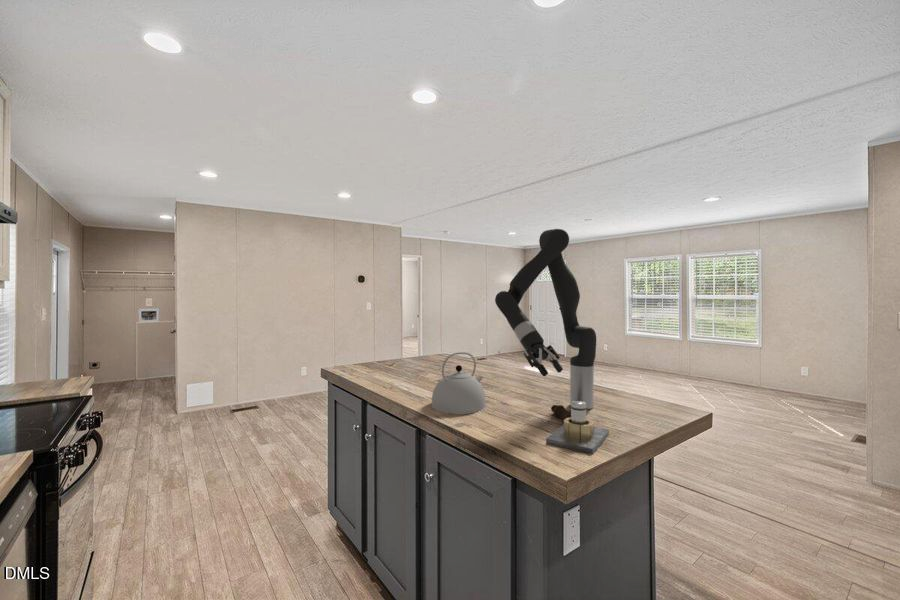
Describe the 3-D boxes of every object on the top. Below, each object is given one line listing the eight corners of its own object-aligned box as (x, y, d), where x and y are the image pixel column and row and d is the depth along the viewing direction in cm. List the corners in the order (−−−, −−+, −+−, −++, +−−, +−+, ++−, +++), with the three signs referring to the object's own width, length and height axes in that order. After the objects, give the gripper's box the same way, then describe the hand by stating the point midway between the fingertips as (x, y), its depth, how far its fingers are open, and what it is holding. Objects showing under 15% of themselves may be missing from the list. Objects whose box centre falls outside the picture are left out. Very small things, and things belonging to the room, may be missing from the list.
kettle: (466, 395, 178) (466, 346, 178) (501, 406, 160) (501, 352, 160) (420, 404, 163) (421, 351, 163) (454, 418, 145) (454, 358, 145)
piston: (573, 430, 127) (573, 400, 127) (587, 433, 125) (588, 402, 125) (568, 434, 123) (569, 403, 123) (583, 437, 121) (584, 405, 121)
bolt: (556, 418, 151) (574, 429, 136) (545, 412, 151) (562, 423, 136) (563, 404, 152) (581, 415, 137) (552, 398, 151) (570, 408, 136)
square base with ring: (567, 425, 136) (567, 410, 136) (608, 434, 128) (608, 417, 128) (546, 443, 120) (546, 425, 120) (592, 454, 112) (592, 435, 112)
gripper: (521, 331, 136) (547, 370, 128) (546, 328, 145) (572, 364, 137) (509, 344, 140) (534, 382, 132) (534, 340, 149) (559, 375, 141)
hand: (553, 373), depth 134 cm, fingers open, 8 cm apart
